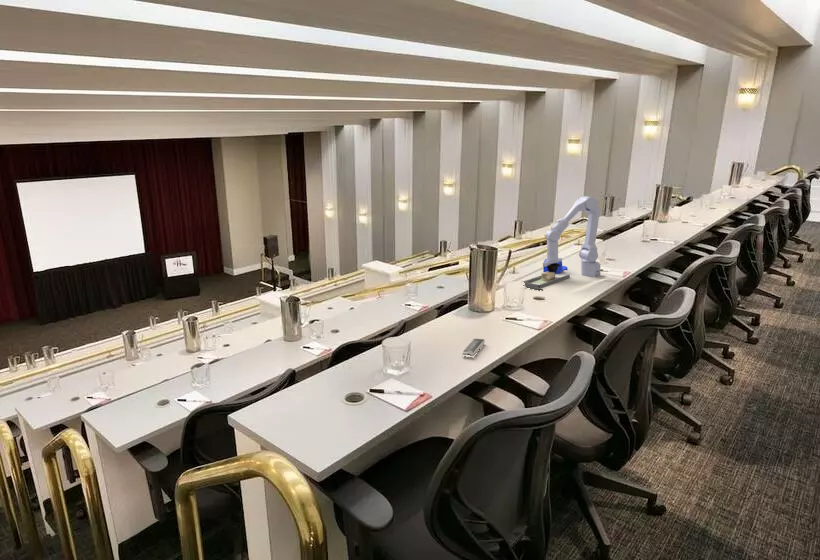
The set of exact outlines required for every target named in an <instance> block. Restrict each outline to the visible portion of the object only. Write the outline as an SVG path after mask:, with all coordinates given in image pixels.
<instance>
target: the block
mask: <svg viewBox="0 0 820 560" xmlns="http://www.w3.org/2000/svg"><path fill="white" fill-rule="evenodd" d="M540 276H541V281H547V282H549V281H551V280H554V279H555V277H556V275H555V273H554V272H544V273H543V272H541V275H540Z"/></svg>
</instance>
